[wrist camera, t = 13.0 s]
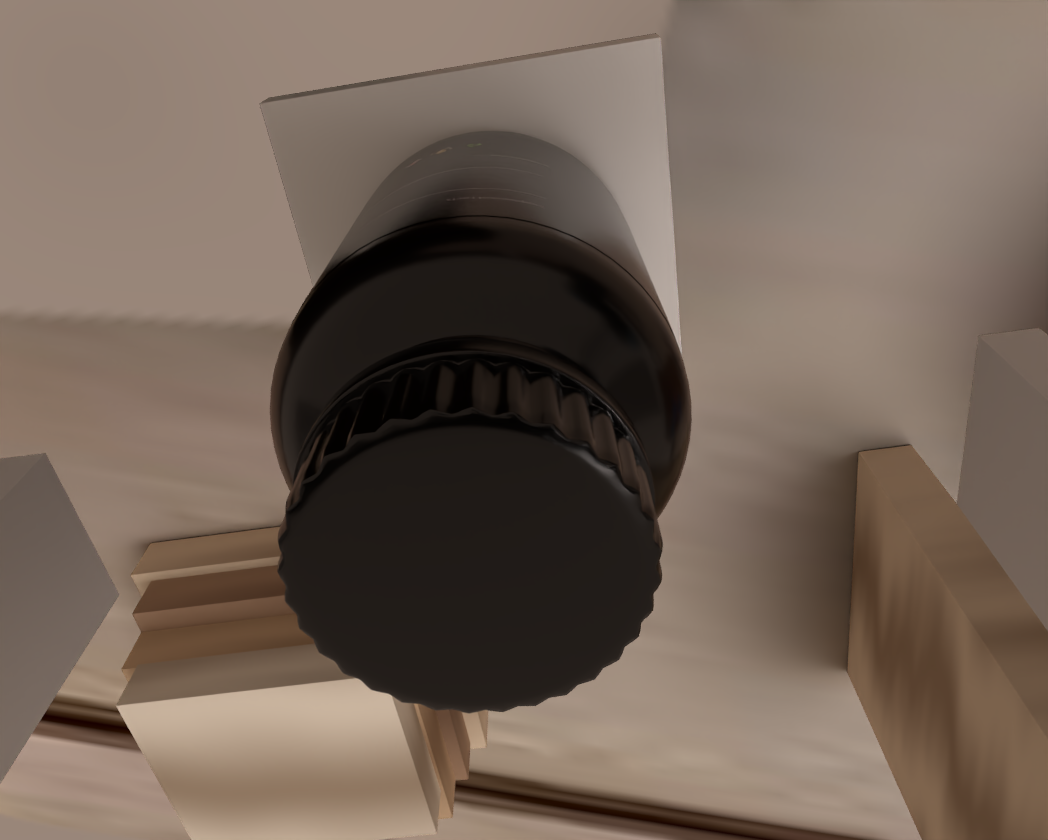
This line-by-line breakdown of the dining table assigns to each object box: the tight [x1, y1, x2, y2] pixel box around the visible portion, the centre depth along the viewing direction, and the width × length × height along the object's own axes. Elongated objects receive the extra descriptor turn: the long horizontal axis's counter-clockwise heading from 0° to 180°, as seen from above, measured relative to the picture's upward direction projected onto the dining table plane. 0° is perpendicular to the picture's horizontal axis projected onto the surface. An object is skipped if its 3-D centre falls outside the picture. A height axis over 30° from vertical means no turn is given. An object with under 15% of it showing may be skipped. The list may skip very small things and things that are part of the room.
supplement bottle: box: [270, 131, 692, 714], centre depth 16 cm, size 7×7×12 cm
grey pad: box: [260, 33, 682, 355], centre depth 21 cm, size 9×9×1 cm
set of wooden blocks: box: [116, 445, 1048, 840], centre depth 21 cm, size 9×23×14 cm, turn 99°
